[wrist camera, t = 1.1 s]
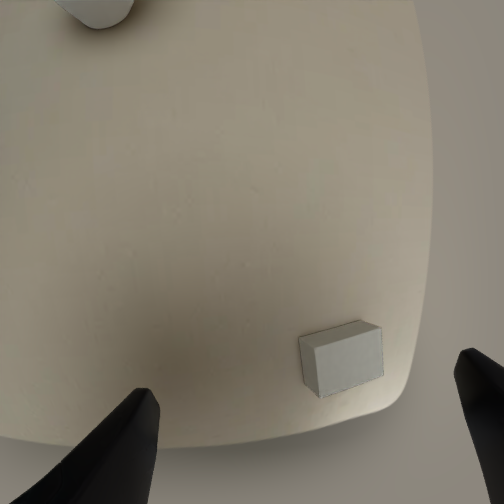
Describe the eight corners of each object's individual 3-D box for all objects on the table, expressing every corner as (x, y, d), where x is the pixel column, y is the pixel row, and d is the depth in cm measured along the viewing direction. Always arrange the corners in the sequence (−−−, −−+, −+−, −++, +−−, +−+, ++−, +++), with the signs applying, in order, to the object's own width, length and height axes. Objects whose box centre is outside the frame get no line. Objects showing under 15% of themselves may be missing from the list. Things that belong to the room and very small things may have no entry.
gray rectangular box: (364, 364, 25) (384, 375, 22) (304, 384, 24) (319, 399, 21) (360, 319, 25) (381, 326, 22) (298, 337, 24) (313, 348, 21)
